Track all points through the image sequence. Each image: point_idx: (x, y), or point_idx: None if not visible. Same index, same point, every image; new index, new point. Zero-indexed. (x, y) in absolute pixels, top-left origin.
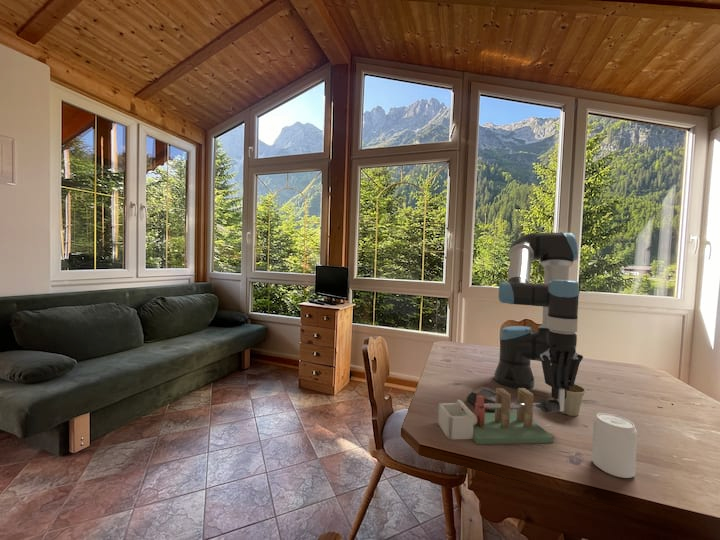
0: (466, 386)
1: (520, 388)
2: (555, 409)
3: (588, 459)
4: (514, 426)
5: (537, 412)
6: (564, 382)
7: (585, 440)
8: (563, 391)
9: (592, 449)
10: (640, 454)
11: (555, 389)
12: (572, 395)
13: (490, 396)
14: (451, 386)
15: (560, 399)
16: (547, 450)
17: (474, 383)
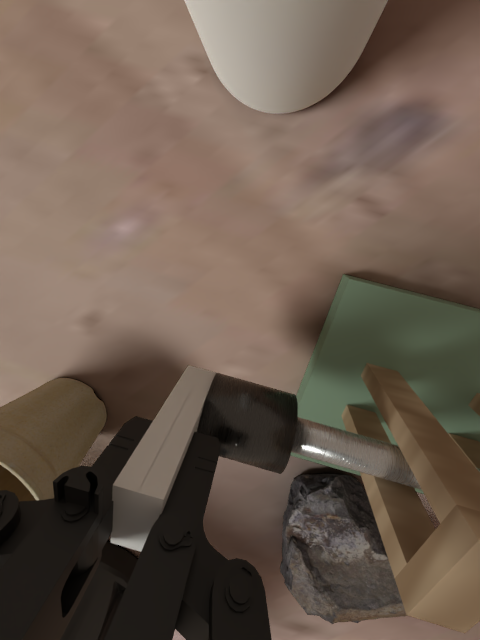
0: (284, 610)
1: (454, 623)
2: (244, 383)
3: (322, 121)
4: (434, 395)
5: None
6: (56, 585)
7: (186, 244)
8: (138, 470)
9: (346, 59)
10: (44, 86)
11: (199, 516)
12: (13, 444)
13: (348, 564)
14: (336, 626)
15: (190, 421)
16: (436, 235)
17: None
